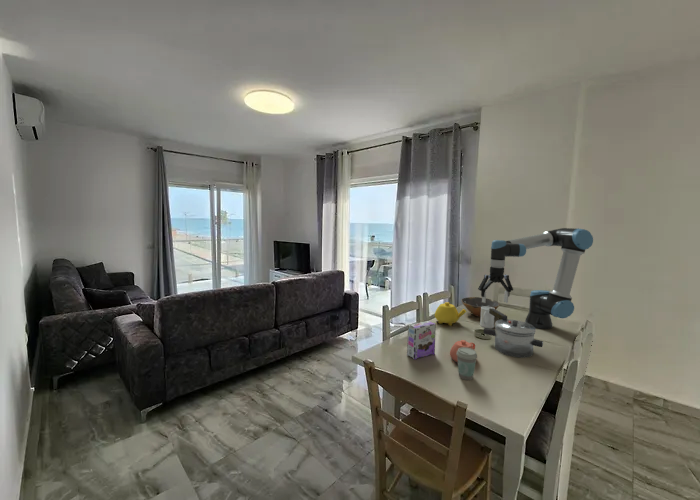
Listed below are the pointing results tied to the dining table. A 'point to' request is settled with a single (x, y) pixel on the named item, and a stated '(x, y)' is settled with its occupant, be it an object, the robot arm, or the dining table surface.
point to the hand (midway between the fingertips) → (494, 302)
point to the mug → (486, 317)
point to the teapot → (448, 313)
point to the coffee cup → (466, 362)
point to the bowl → (478, 304)
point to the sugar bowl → (459, 345)
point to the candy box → (421, 339)
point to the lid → (511, 324)
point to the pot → (514, 343)
